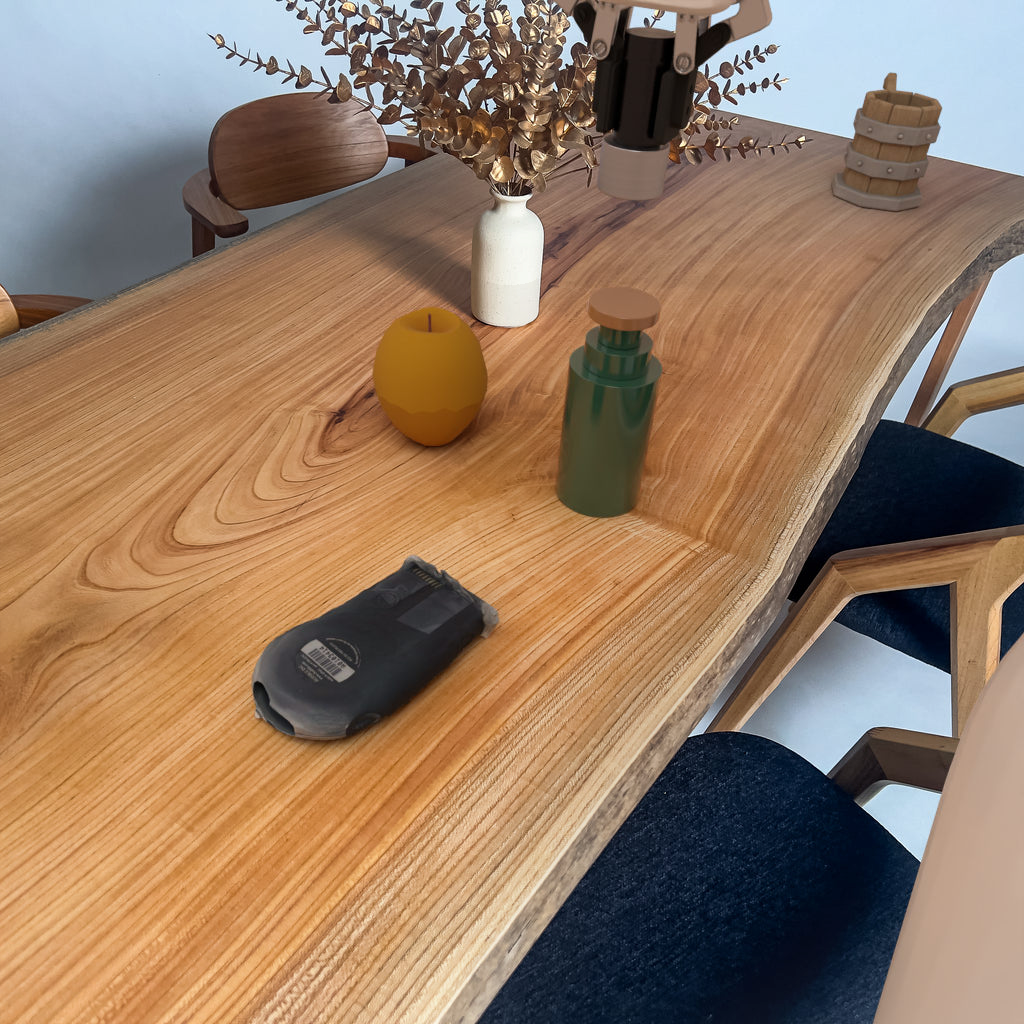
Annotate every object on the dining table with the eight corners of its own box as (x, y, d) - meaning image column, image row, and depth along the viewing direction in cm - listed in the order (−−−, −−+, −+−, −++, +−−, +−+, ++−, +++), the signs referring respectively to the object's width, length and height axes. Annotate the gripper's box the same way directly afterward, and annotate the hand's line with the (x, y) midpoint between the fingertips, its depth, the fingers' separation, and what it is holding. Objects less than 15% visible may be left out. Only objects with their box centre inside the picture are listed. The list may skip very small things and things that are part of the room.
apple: (387, 399, 84) (383, 281, 77) (490, 409, 84) (496, 291, 77) (365, 459, 77) (358, 334, 69) (478, 470, 76) (484, 346, 69)
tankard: (922, 215, 133) (960, 107, 123) (834, 204, 134) (864, 96, 125) (906, 173, 148) (938, 74, 139) (827, 164, 150) (853, 65, 140)
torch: (676, 195, 57) (703, 38, 52) (624, 205, 55) (646, 42, 50) (634, 174, 60) (655, 23, 54) (583, 183, 58) (600, 27, 52)
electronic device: (396, 590, 67) (221, 683, 56) (410, 533, 63) (227, 621, 53) (487, 668, 63) (317, 785, 52) (507, 612, 59) (330, 724, 49)
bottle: (656, 501, 75) (694, 311, 64) (588, 527, 71) (616, 332, 61) (604, 458, 79) (632, 274, 68) (538, 481, 76) (556, 292, 65)
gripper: (508, -273, 44) (491, 123, 55) (847, -256, 39) (751, 177, 50) (570, -261, 49) (543, 97, 61) (876, -245, 44) (783, 144, 56)
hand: (638, 130), depth 55 cm, fingers closed on torch, 3 cm apart
